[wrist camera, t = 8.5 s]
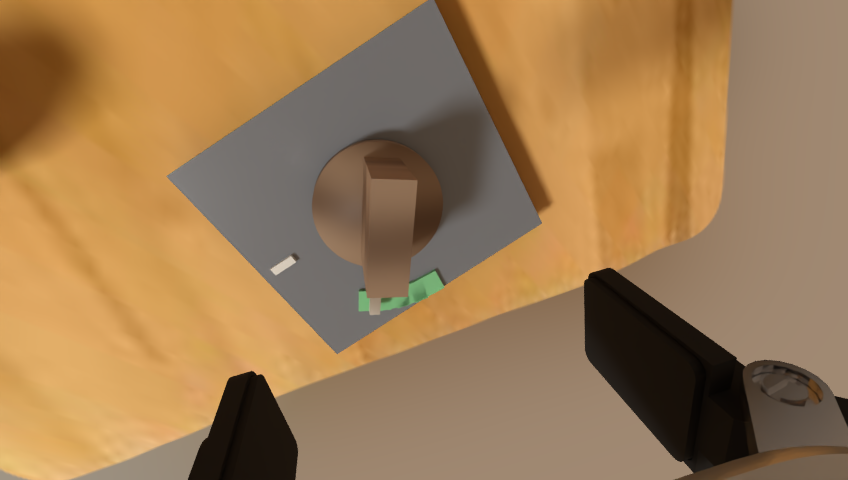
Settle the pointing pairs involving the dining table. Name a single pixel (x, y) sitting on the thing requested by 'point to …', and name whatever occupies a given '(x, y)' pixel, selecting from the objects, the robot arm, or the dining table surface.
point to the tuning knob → (378, 212)
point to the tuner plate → (345, 125)
